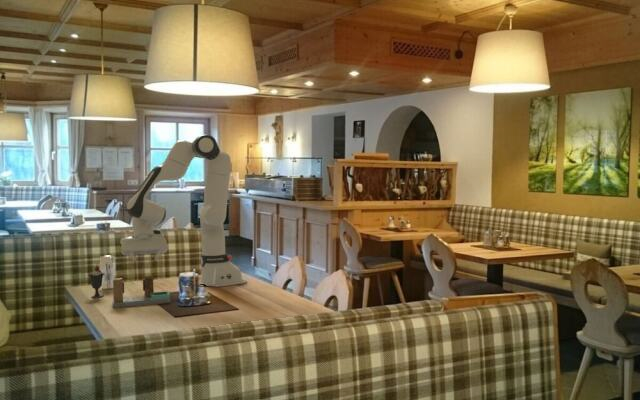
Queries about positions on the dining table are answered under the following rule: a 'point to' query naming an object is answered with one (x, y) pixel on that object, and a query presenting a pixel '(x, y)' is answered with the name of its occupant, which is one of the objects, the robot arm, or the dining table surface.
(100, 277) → the sundae
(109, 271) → the white carton
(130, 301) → the rail
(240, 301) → the dining table surface
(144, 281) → the walnut finger
